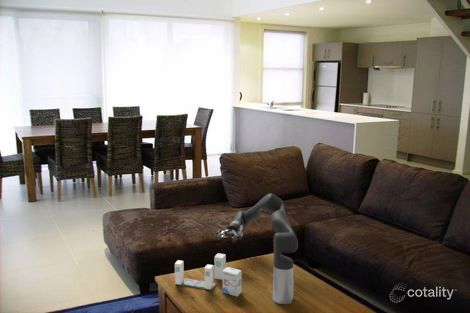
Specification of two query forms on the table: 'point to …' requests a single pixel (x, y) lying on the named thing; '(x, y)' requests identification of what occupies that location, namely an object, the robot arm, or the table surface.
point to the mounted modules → (180, 274)
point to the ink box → (232, 281)
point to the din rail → (195, 284)
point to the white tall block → (219, 265)
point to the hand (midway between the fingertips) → (225, 239)
